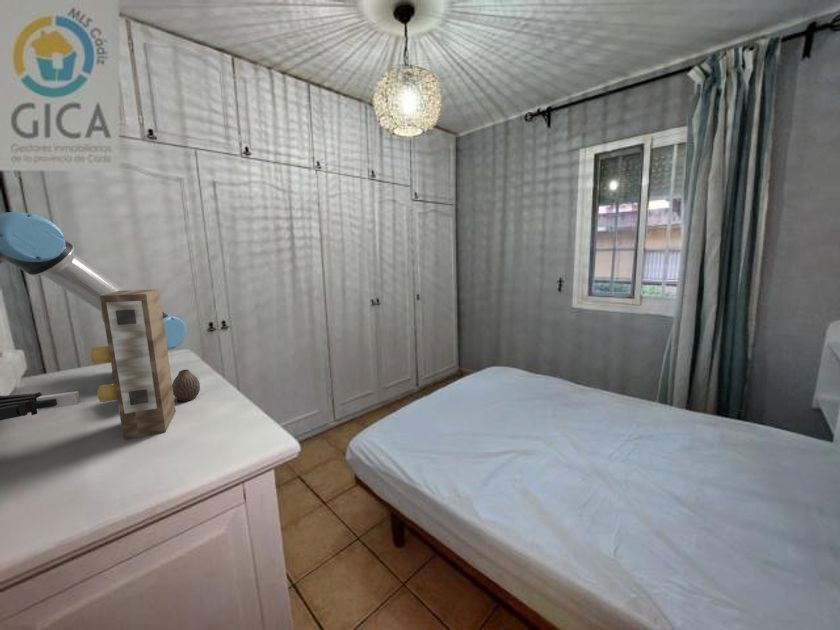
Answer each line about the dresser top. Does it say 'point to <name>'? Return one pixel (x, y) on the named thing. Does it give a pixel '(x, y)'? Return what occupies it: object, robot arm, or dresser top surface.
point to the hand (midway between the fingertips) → (77, 397)
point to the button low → (107, 393)
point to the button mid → (100, 355)
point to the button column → (139, 361)
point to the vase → (185, 386)
